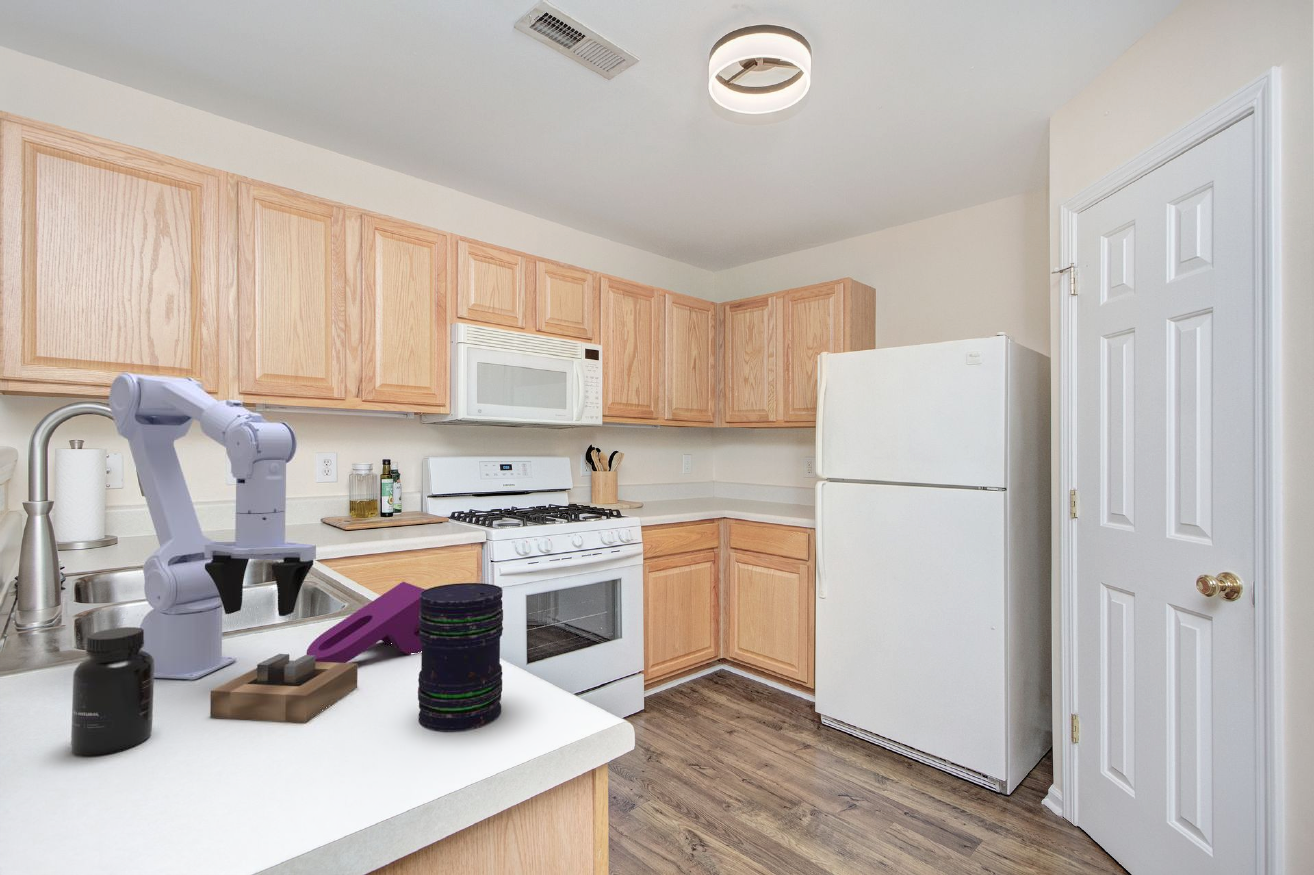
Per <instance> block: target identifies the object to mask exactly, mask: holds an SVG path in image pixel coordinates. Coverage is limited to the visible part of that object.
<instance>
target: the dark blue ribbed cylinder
mask: <svg viewBox="0 0 1314 875" xmlns="http://www.w3.org/2000/svg"><path fill="white" fill-rule="evenodd" d="M502 598H503V588H502V587H501V586H498V585H496V584H490V583H481V582H463V583H462V582H461V583H449V584H443V585H442V584H441V585H438V586H433V587H430V588H429V587H428V588H426V590H424V591H422V592H421V593H420V602H421V606H420V615H419V626H420V632H419V637H420V638H419V639H420V642H421V643H422V653H421V660H420V661H421V665H420V671H419V673H418V679H417V681H418V687H417V699H418V708H419V713H418V723H419V724H420V726H422V727H423V728H424V729H427V730H430V731H434V732H438V733H439V732H441V733H442V732H443V733H455V732H456V733H457V732H465V731H471V730H475V729H479V728H482V727H485V726H487V725H489V724H491V723H492V722H494V721H496V720H498V718H499V717H500V716H501V713H502V704H501V700H502V692H503V678H502V677H503V666H502V665H501V662H500V661H501V637H502V635H503V630H504V626H503V621H504V610H503V600H502Z"/></svg>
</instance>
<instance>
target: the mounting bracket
mask: <svg viewBox="0 0 1314 875" xmlns="http://www.w3.org/2000/svg"><path fill="white" fill-rule="evenodd" d="M426 589H427V588H426ZM426 589H425V588H422V587H419V586H417V585H414V584H411V583H408V582H405V581H402V582H400V583H399V584H397V585H396V586H393V587H392V588H390V589H389V590H388V591H386V592H385V593H383V594H382V595H380V596H378V597H377V598H375V599H374V600H372V601H370V602H369V603H367V604H366V605H365V606H363V607H361V608H360V609H358V610H357V611H355V612H354V613H351V615H349V616H347V617H346V618H344V619H343V620H341V621H340V622H338V623H337V624H335V625H333V626H332V627H330V628H329V629H327V630H325V631H324V632H323V633H322V634H320V635H319V636H318V637H317V638H315V639H314V640H313V641H312V642H311V644H309V646H308V647H307V650H306V654H305V655H316V658H315V662H333V663H349V661H352V660H353V659H355V658H357V657H358V656H359V655H361V654H363V652H366V650H368V649H369V648H371V647H372V646H374V645H375V644H377V643H378V642H379V641H381V642H383V643H385V644H387V645H390V644H391V643H392V644H393V645H392V646H393V647H394V648H395V649H397V650H399V651H401V652H403V653H404V654H407V655H409V654H411V653H418V652H421V651H422V643H421V642H420V639H419V638H420V637H419V632H420V626H419V615H420V606H421V602H420V593H421V592H422V591H424V590H426ZM418 654H419V653H418Z"/></svg>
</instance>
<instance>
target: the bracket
mask: <svg viewBox="0 0 1314 875" xmlns="http://www.w3.org/2000/svg"><path fill="white" fill-rule="evenodd" d="M315 658H316V655H306V654H305V655H303V656H301V657H298V658H297V659H295V660H292V661H293V662H291V663H289V661H290V654H287V653H278V654H276V655H274V656H272V657H269V658H267V659H266V660H264V661H262V662H259V663H257V664H256V668H257V685H277V686H297V687H300V686H301V685H303V684H305V683H306V682H308V681H310V680H311V679H313V678H315Z"/></svg>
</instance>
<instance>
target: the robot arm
mask: <svg viewBox="0 0 1314 875" xmlns="http://www.w3.org/2000/svg"><path fill="white" fill-rule="evenodd" d="M243 404H244V403H243V402H242V401H241V400H239V399H230V398H229V399H228V398H227V399H226V400H217V399H216V398H215V397H212V395H210V394H209V393H207V392H206V391H205V390H204V389H203V385H202V382H201V381H197V380H195V379H194V378H192V377H171V376H160V375H159V376H158V375H147V374H134V373H131V372H127V371H126V372H121V373H120V374H118V375H117V376H116V377H115V379H114V380H113V381H112V383H111V385H110V392H109V396H108V405H109V408H110V412H111V415H112V418H113V422H114V425H115V427H116V430H117V433H118V435H119V436H121V437H123V438H124V439H126V440H127V441H128V442H127V443H128V446H129V449H130V452H131V455H132V459H133V462H134V465H135V468H136V471H137V475H138V478H139V482H140V485H141V489H142V491H143V494H144V498H145V502H146V504H147V507H148V511H149V514H150V517H151V520H152V524H153V527H154V531H155V533H156V534H155V535H156V537H157V540H158V544H159V548H158V549H157V550H155V551H154V552H153V553H152V554H150V556H149V557H148V558H147V559H146V561H145V563H144V564H143V566H142V570H143V577H144V584H143V585H144V586H143V587H144V589H143V590H144V596H145V599H146V601H147V603H148V605H149V606H150V607H151V608H152V609H151V610H150V611H148V612H147V614H145V615H144V617H143V619H142V622H141V623H140V626H139V628H141V629H143V630H144V647H142V648H141V650H142V651H145V652H147V653H149V654H150V655H151V656H152V657H153V659H154V679H155V678H160V679H175V680H177V679H178V680H196V679H199V678H201V677H204V676H205V675H209V674H210V673H212V672H215V671H216V670H219V669H221V668H223V667H226V666H227V665H230V664H232V663H235V662H236V661H237V659H238V658H237V657H235V656H223V610H224V614H225V615H230V614H233V613H236V612H239V611H241V610H242V605H243V594H244V592H243V588H244V579H245V574H246V571H247V567H248V563H249V560H251V559H252V560H278V561H279V560H280V561H281V560H283V561H281V562H280V561H279V562H277V563H274V564H272V565H271V568H272V572H273V575H274V578H275V583H276V588H277V612H278V616H279V617H286V616H288V615H291V614H294V611H295V608H296V605H297V600H298V597H299V594H300V590H301V589H302V586H303V583H304V582H305V579H306V577H307V576H308V573H310V570H311V568H312V567H313V566H314V560H315V559H316V558H317V545H316V544H307V543H300V542H299V543H297V542H288V541H286V507H287V506H286V502H287V501H286V499H287V498H286V494H287V493H286V492H287V464H288V463H290V461H292V459H293V458H294V456H296V455H295V454H296V452H297V448H298V447H297V445H298V444H297V443H298V442H297V436H296V433H295V431H294V429H293V428H292V427H291V425H289V424H288V423H287V422H286V421H275V422H268V420H266V419H264V418H263V415H262V414H260V413H259V412H252V411H251V410H249V409H247V408H245V407H244V406H243ZM194 420H195V421H198V422H199V425H200V429H201V431H202V433H203V434H204V435H206V436H207V437H208V438H210V439H211V440H213V441H214V442H216V443H217V444H220V445H221V446H222V447H224V448H225V451H226V455H227V457H228V460H229V462H230V466H231V468H230V474H231V475H232V477H233V478H235V526H234V527H235V530H234V531H235V532H234V533H235V534H234V535H235V536H234V539H235V541H215V540H213V539H211V538H209V537H206V536H205V535H204V534H203V532H202V529H201V525H200V522H199V519H198V516H197V512H196V510H195V506H194V504H193V500H192V498H191V494H190V491H189V488H188V485H187V483H186V482H187V481H186V479H185V476H184V472H183V470H182V467H181V463H180V459H179V457H178V455H177V451H176V448H175V444H174V443H175V441H177V440H179V439H181V438H182V437H185V436H187V434H188V432H189V430H190V429H191V427H192V424H193V423H194Z"/></svg>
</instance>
